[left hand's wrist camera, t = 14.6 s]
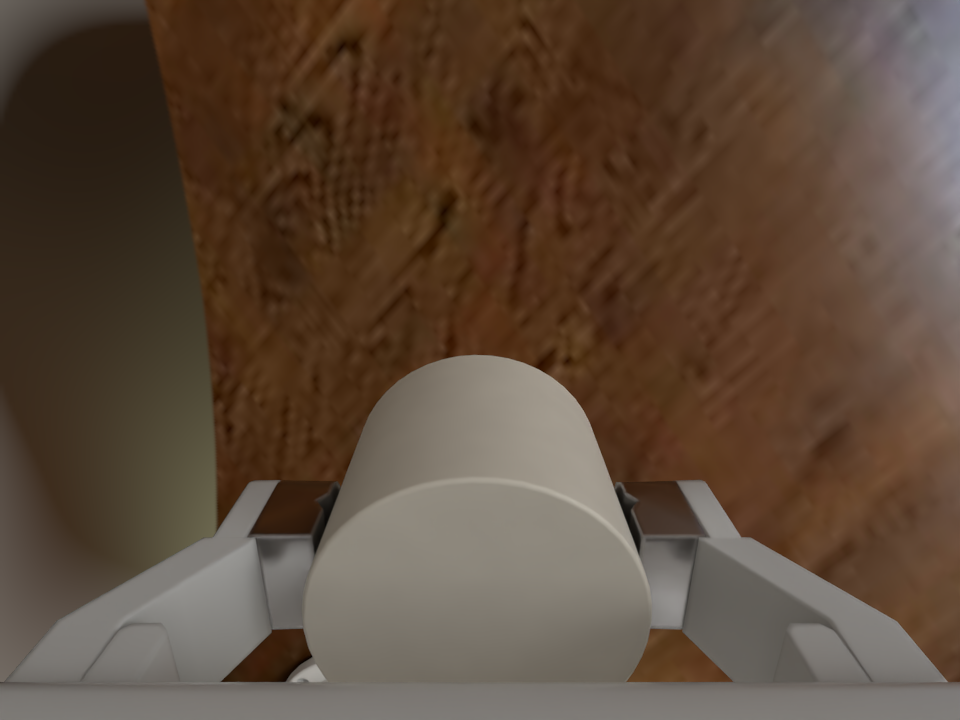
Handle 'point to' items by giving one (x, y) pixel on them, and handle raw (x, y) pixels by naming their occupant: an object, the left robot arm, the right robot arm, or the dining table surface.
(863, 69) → the dining table surface
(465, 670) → the canister
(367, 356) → the dining table surface
